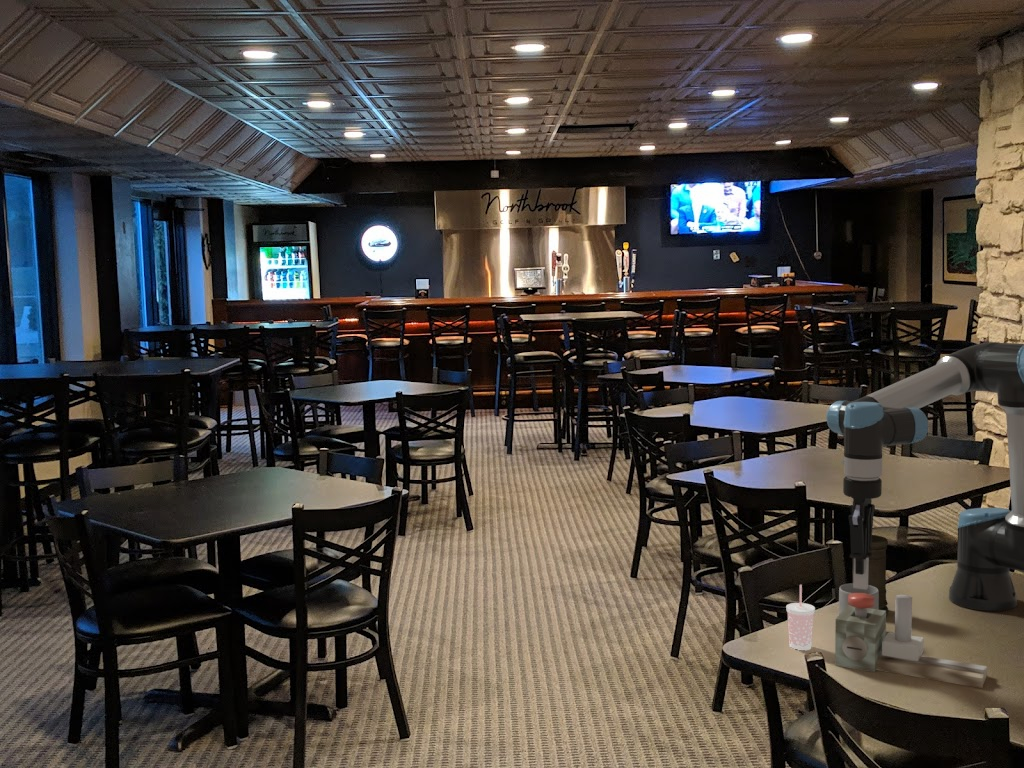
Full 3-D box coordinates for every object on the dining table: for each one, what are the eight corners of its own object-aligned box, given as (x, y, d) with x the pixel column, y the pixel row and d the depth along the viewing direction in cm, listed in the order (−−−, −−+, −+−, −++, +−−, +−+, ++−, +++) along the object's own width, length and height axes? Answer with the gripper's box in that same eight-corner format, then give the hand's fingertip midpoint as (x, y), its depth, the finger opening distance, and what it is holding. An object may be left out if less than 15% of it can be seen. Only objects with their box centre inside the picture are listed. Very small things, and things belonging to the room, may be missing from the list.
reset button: (876, 620, 218) (876, 594, 217) (870, 627, 213) (871, 602, 213) (851, 616, 220) (851, 591, 220) (845, 623, 216) (845, 598, 215)
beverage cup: (787, 640, 230) (787, 579, 229) (815, 643, 228) (816, 581, 227) (784, 650, 225) (784, 587, 223) (813, 653, 223) (814, 590, 221)
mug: (867, 645, 226) (868, 597, 225) (831, 636, 232) (832, 589, 231) (891, 631, 234) (892, 584, 233) (856, 623, 240) (856, 577, 239)
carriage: (923, 651, 214) (924, 595, 212) (917, 661, 209) (919, 603, 207) (888, 645, 217) (889, 590, 216) (881, 655, 212) (882, 598, 211)
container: (873, 620, 242) (874, 545, 240) (841, 610, 249) (842, 538, 247) (896, 612, 247) (897, 538, 245) (863, 602, 254) (864, 531, 252)
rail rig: (987, 673, 209) (989, 625, 208) (980, 691, 200) (981, 642, 199) (846, 649, 224) (847, 605, 223) (834, 666, 215) (834, 619, 214)
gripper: (851, 470, 221) (849, 577, 223) (836, 481, 210) (834, 593, 212) (888, 472, 217) (886, 582, 219) (874, 484, 206) (872, 599, 208)
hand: (860, 587), depth 216 cm, fingers closed
